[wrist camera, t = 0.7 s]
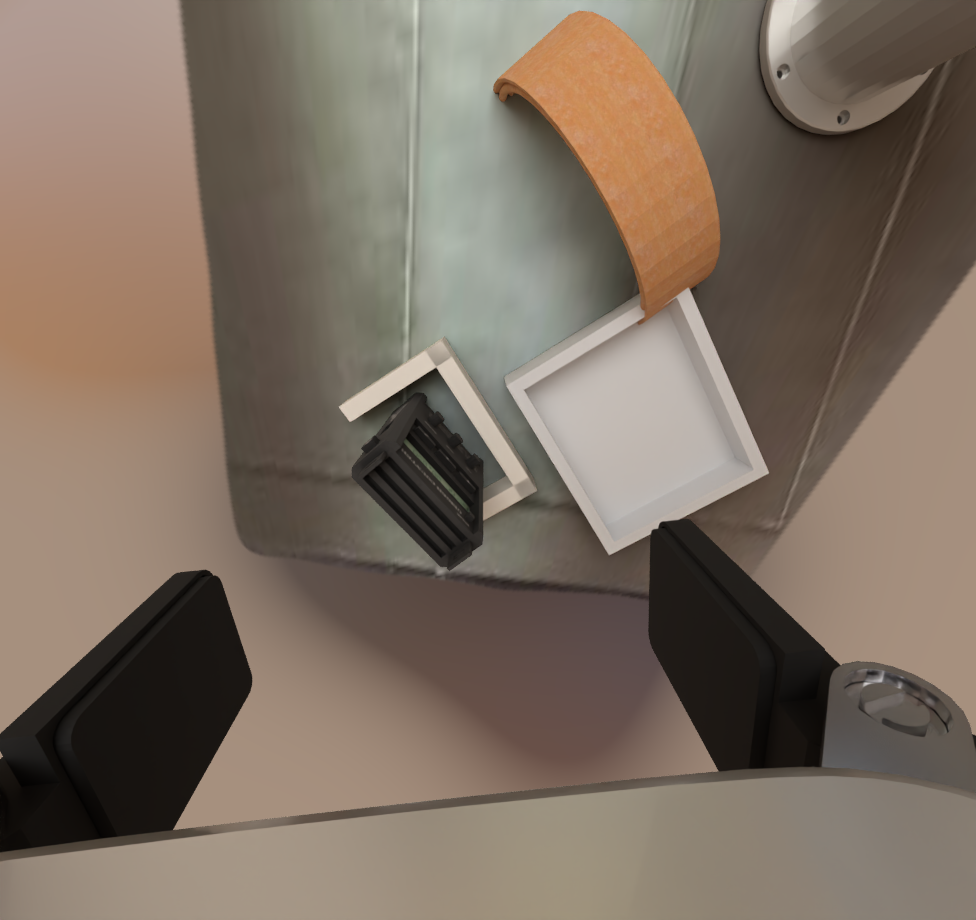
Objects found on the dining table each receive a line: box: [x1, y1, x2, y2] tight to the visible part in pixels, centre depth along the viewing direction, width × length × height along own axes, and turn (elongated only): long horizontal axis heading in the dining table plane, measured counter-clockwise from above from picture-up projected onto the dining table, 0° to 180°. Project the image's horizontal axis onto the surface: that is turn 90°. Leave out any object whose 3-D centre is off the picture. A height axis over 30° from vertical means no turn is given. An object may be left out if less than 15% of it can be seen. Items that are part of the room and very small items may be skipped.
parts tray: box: [504, 287, 769, 555], centre depth 39 cm, size 15×18×4 cm
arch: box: [493, 11, 720, 325], centre depth 30 cm, size 6×20×10 cm, turn 36°
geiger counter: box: [352, 393, 483, 571], centre depth 34 cm, size 10×4×15 cm, turn 39°
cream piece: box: [339, 337, 537, 521], centre depth 40 cm, size 10×15×3 cm, turn 32°
